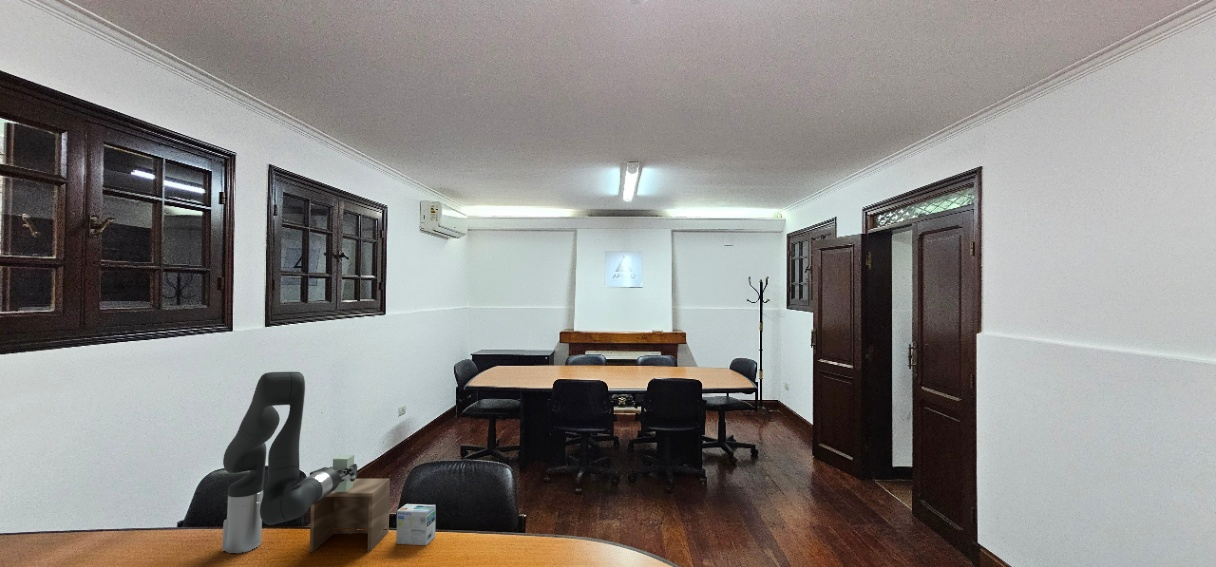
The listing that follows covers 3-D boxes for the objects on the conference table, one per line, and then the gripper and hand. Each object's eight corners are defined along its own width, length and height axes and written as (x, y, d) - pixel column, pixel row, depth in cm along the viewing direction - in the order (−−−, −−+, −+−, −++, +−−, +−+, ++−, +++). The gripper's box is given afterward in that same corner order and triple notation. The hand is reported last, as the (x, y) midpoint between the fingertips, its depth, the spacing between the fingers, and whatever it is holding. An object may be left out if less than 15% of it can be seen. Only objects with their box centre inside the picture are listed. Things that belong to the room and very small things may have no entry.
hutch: (309, 551, 160) (311, 493, 161) (331, 532, 174) (333, 478, 175) (370, 551, 160) (372, 493, 161) (388, 532, 174) (389, 478, 175)
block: (331, 491, 159) (332, 459, 160) (338, 486, 164) (340, 454, 164) (346, 491, 159) (347, 459, 160) (353, 486, 164) (354, 454, 164)
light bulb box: (435, 536, 171) (436, 504, 172) (426, 546, 164) (427, 512, 165) (405, 535, 172) (406, 502, 173) (395, 544, 166) (396, 510, 166)
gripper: (344, 472, 148) (370, 455, 165) (294, 471, 147) (325, 455, 165) (343, 498, 147) (369, 478, 165) (293, 498, 147) (324, 478, 164)
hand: (347, 467), depth 164 cm, fingers closed on block, 4 cm apart
